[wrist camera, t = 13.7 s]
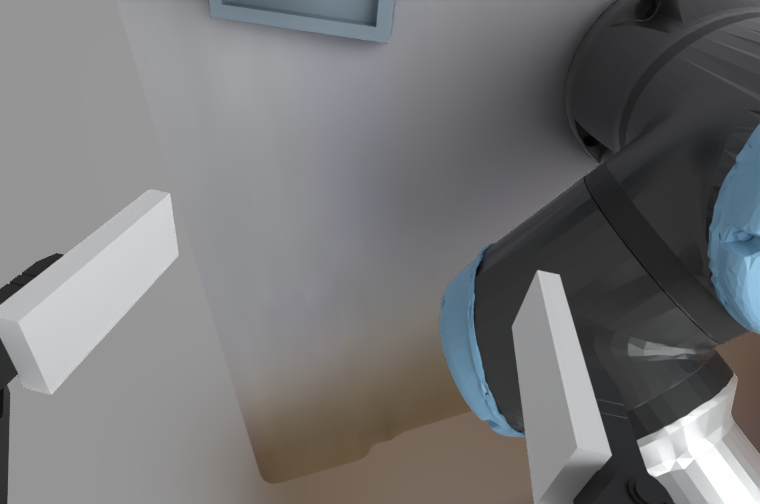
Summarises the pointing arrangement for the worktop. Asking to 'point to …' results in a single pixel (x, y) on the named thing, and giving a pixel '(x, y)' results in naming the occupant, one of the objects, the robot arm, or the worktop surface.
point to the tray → (314, 16)
